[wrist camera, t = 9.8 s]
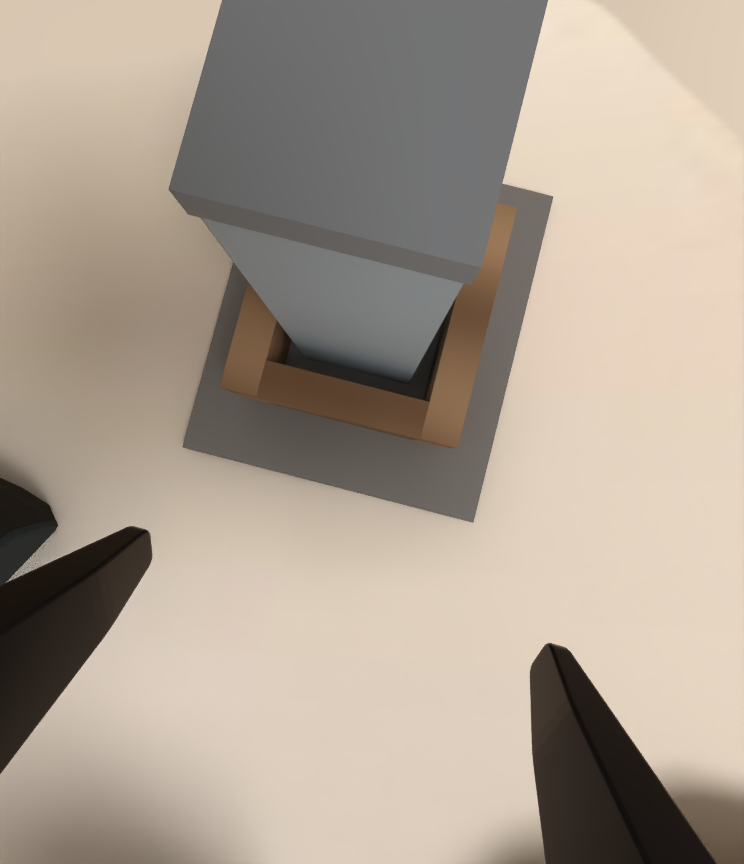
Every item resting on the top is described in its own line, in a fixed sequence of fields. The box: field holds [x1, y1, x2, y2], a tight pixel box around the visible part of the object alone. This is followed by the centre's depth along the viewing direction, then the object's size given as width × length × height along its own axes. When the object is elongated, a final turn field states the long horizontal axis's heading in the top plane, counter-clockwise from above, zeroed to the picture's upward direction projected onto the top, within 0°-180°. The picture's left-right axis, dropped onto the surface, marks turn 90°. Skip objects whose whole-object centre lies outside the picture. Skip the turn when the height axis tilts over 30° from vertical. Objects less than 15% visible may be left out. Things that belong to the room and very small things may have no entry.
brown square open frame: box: [220, 203, 517, 448], centre depth 18 cm, size 10×10×3 cm
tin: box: [169, 0, 548, 384], centre depth 13 cm, size 5×5×12 cm
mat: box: [183, 184, 553, 522], centre depth 19 cm, size 16×14×1 cm
